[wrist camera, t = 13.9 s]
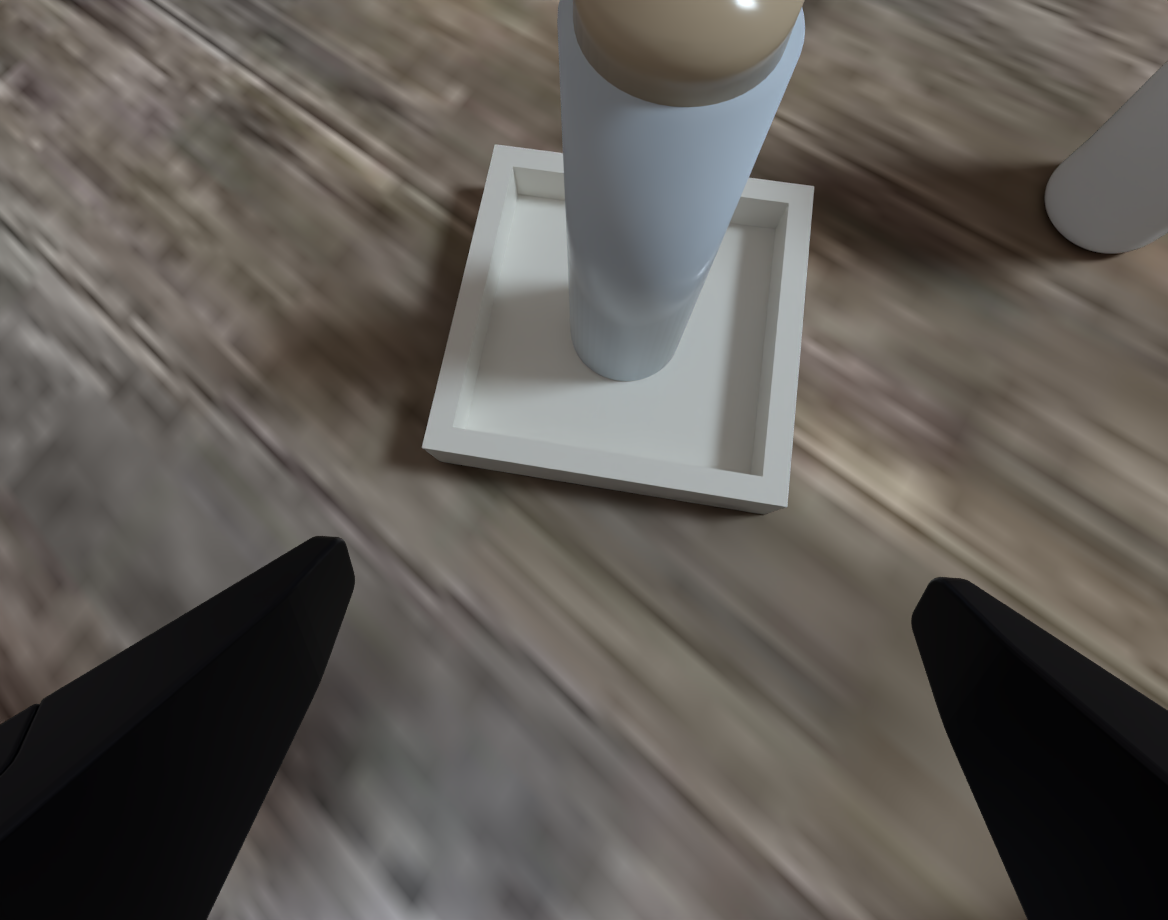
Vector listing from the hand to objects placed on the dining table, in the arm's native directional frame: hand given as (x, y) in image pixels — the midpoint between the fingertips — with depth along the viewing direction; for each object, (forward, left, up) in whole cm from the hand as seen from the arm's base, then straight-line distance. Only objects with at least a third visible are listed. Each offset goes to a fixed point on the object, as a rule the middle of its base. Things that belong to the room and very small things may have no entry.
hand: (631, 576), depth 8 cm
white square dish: (+11, +1, -14) cm, 17 cm away
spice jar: (+10, +1, -13) cm, 17 cm away
